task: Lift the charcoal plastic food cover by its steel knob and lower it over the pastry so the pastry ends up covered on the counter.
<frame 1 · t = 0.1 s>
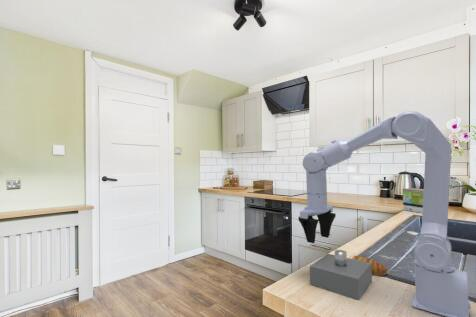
hand: (318, 239, 74), 10 cm above the worktop, tool pointing down, fingers open, 7 cm apart
cover: (341, 282, 68), on the worktop
pastry: (366, 271, 76), on the worktop
tea box: (419, 211, 164), on the worktop
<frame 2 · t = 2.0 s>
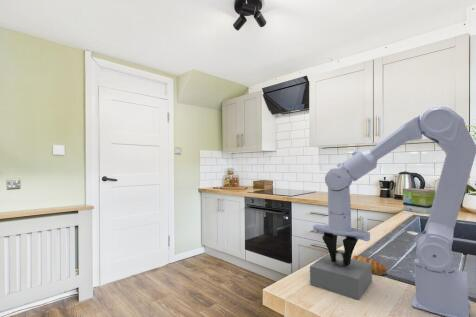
hand: (340, 262, 68), 5 cm above the worktop, tool pointing down, fingers closed on cover, 3 cm apart
cover: (341, 282, 68), on the worktop, touching gripper
everything else where it was.
when the fingers open (6 cm above the worktop, at t = 5.3 s): cover stays where it is, on the worktop.
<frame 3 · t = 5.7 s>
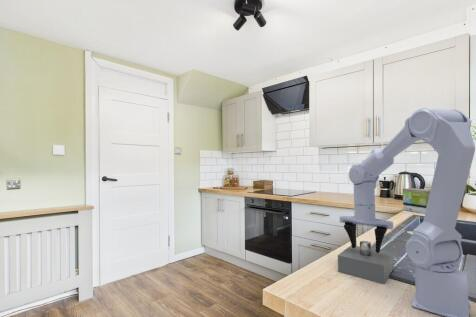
hand: (365, 249, 76), 6 cm above the worktop, tool pointing down, fingers open, 6 cm apart
cover: (366, 270, 76), on the worktop
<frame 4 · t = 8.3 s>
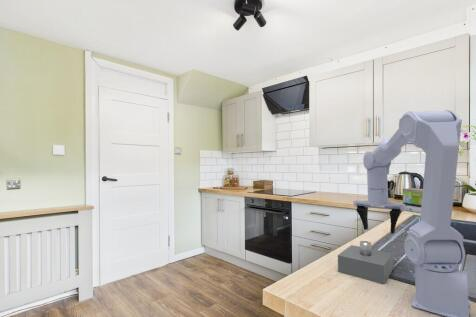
hand: (378, 231, 81), 10 cm above the worktop, tool pointing down, fingers open, 7 cm apart
at the end: cover 2.4 cm from the pastry (horizontally); cover on the worktop; cover tilted 0° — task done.
